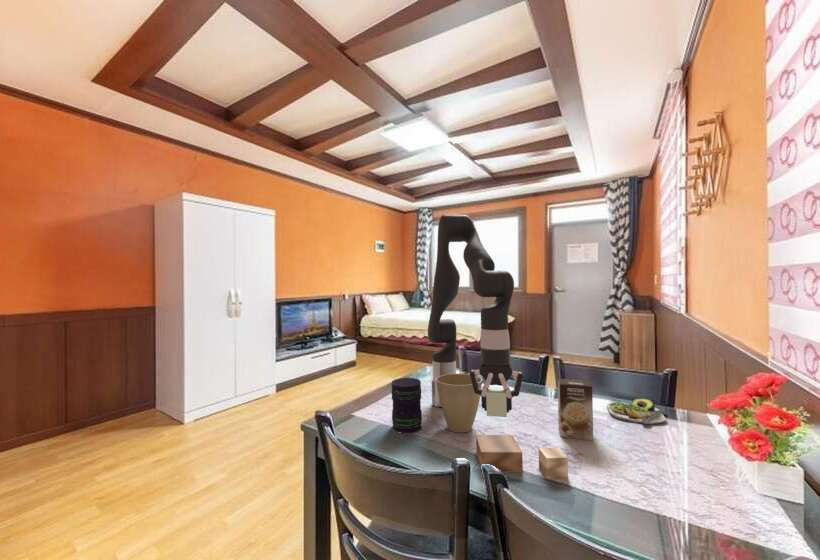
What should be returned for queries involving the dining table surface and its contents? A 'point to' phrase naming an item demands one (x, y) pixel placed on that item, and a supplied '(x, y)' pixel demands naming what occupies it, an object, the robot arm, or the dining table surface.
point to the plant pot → (458, 400)
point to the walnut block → (499, 452)
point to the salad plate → (637, 411)
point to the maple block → (553, 463)
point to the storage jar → (406, 405)
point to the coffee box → (575, 409)
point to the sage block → (496, 402)
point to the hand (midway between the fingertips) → (496, 410)
